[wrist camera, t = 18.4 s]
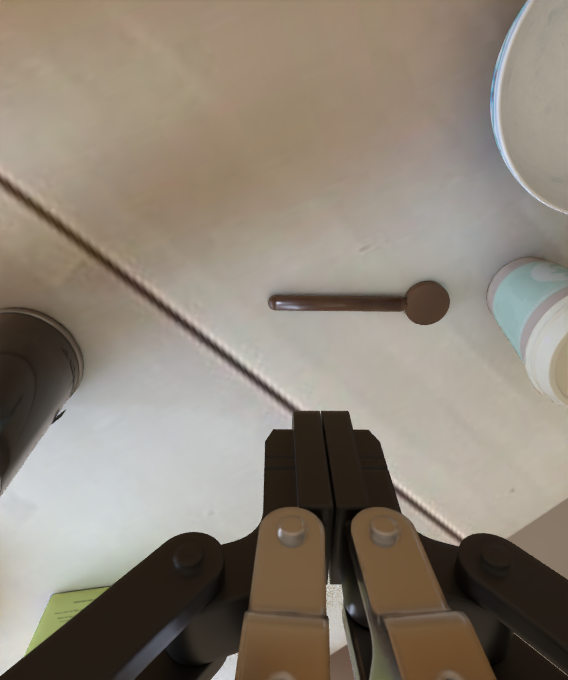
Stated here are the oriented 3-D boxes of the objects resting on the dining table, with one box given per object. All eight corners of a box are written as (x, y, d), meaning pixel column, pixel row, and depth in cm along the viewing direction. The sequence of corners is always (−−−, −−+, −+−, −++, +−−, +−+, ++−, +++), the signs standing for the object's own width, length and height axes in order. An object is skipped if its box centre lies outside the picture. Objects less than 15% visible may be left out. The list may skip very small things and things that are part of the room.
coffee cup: (596, 287, 41) (713, 356, 30) (511, 357, 43) (589, 443, 33) (535, 216, 38) (638, 263, 27) (447, 294, 41) (510, 366, 30)
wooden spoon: (268, 320, 41) (268, 326, 40) (268, 278, 40) (268, 283, 39) (443, 322, 42) (448, 328, 41) (450, 281, 40) (455, 286, 39)
